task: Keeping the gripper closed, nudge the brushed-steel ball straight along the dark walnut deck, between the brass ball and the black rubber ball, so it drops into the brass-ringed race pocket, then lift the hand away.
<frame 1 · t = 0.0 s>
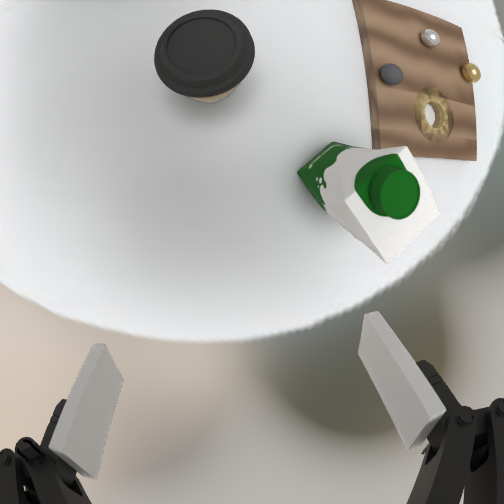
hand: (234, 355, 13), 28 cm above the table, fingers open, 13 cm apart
coffee cup: (211, 79, 32), on the table
steel ball: (430, 38, 26), point 4 cm above the table, touching deck
brass ball: (471, 72, 27), point 4 cm above the table, touching deck
black rubber ball: (392, 74, 28), point 4 cm above the table, touching deck
deck: (422, 80, 32), on the table
milk carton: (329, 175, 38), on the table
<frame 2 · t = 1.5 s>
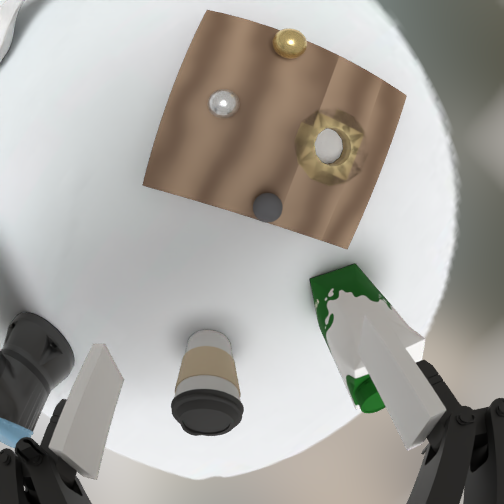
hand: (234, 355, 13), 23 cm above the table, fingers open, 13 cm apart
coffee cup: (209, 345, 42), on the table
steel ball: (223, 103, 25), point 4 cm above the table, touching deck
white curved piece: (24, 23, 19), on the table
brass ball: (289, 43, 23), point 4 cm above the table, touching deck
black rubber ball: (267, 207, 30), point 4 cm above the table, touching deck
deck: (280, 127, 31), on the table
milk carton: (336, 289, 40), on the table
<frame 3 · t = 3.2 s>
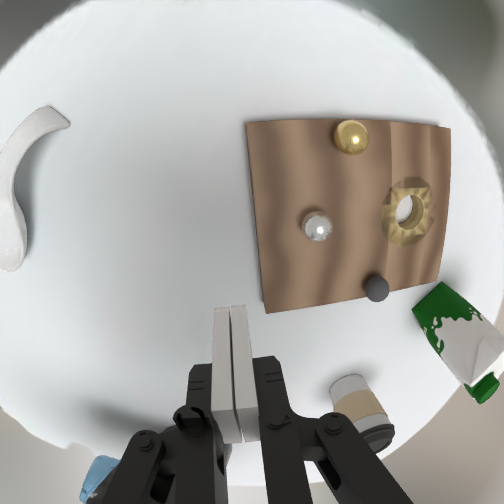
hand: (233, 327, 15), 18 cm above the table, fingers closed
coffee cup: (346, 385, 46), on the table
steel ball: (317, 226, 29), point 4 cm above the table, touching deck
white curved piece: (24, 190, 28), on the table
brass ball: (351, 137, 25), point 4 cm above the table, touching deck
black rubber ball: (377, 289, 32), point 4 cm above the table, touching deck
deck: (360, 210, 33), on the table
milk carton: (431, 305, 41), on the table
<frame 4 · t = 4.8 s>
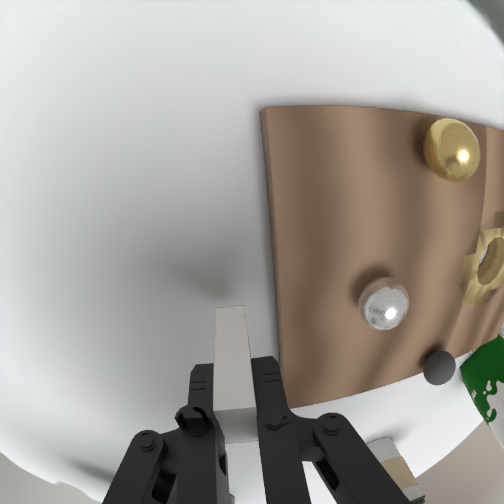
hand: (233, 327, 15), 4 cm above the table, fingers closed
coffee cup: (371, 447, 33), on the table
steel ball: (383, 303, 15), point 4 cm above the table, touching deck
brass ball: (451, 150, 12), point 4 cm above the table, touching deck
black rubber ball: (439, 367, 19), point 4 cm above the table, touching deck
deck: (431, 259, 19), on the table
milk carton: (479, 358, 27), on the table
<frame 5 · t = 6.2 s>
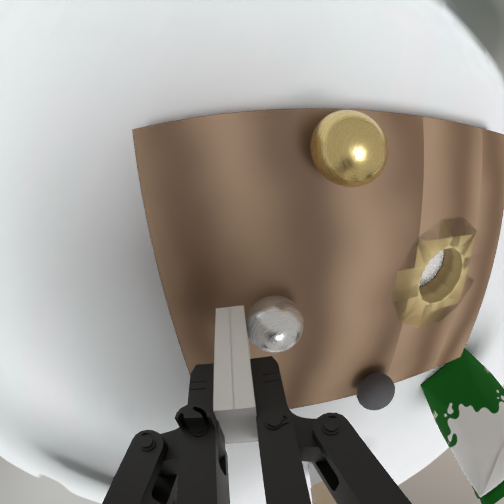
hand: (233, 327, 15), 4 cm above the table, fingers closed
coffee cup: (330, 459, 33), on the table
steel ball: (274, 324, 15), point 4 cm above the table, touching deck, gripper
brass ball: (349, 148, 12), point 4 cm above the table, touching deck
black rubber ball: (375, 391, 19), point 4 cm above the table, touching deck
deck: (361, 273, 19), on the table
milk carton: (446, 375, 27), on the table
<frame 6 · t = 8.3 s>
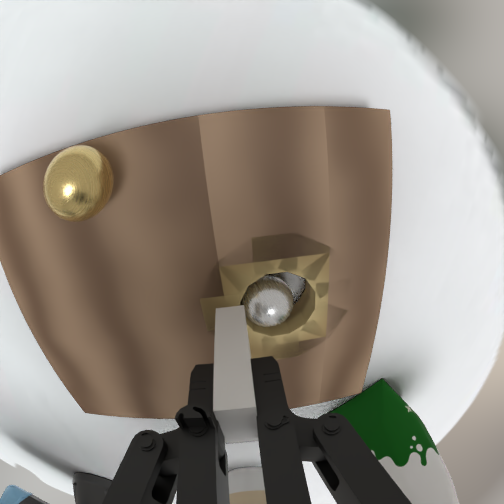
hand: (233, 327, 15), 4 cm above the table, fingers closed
coffee cup: (249, 473, 32), on the table
steel ball: (267, 301, 17), point 2 cm above the table, tilted 97°
brass ball: (78, 183, 11), point 4 cm above the table, touching deck
deck: (184, 296, 19), on the table
milk carton: (366, 404, 27), on the table
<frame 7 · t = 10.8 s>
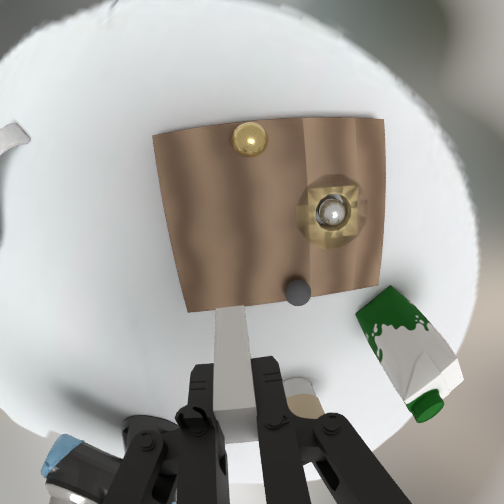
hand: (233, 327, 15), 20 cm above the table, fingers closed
coffee cup: (293, 388, 47), on the table
steel ball: (332, 211, 33), point 2 cm above the table, tilted 118°
brass ball: (249, 139, 26), point 4 cm above the table, touching deck
black rubber ball: (298, 292, 34), point 4 cm above the table, touching deck
deck: (279, 212, 34), on the table
milk carton: (381, 310, 42), on the table
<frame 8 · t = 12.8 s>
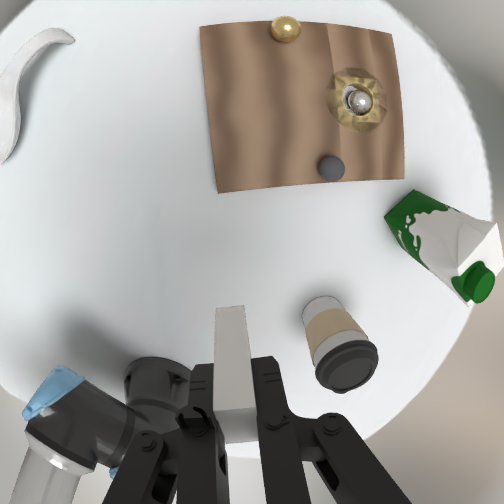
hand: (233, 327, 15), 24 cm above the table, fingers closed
coffee cup: (321, 312, 46), on the table
steel ball: (359, 101, 31), point 2 cm above the table, tilted 134°
white curved piece: (25, 96, 27), on the table
brass ball: (285, 28, 25), point 4 cm above the table, touching deck
black rubber ball: (332, 168, 32), point 4 cm above the table, touching deck
deck: (309, 100, 32), on the table
milk carton: (407, 218, 40), on the table
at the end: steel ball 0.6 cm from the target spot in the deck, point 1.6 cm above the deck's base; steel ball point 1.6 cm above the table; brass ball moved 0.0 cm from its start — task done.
